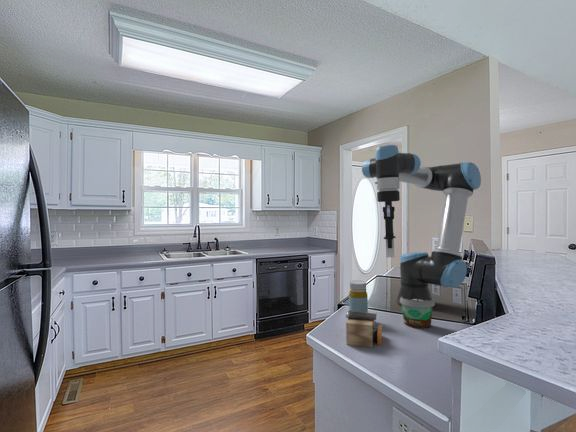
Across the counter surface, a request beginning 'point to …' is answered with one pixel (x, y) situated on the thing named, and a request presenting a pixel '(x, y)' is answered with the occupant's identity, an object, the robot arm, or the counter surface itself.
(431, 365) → the counter surface
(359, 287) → the bottle
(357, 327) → the block
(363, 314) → the keeper
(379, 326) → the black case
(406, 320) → the food container
